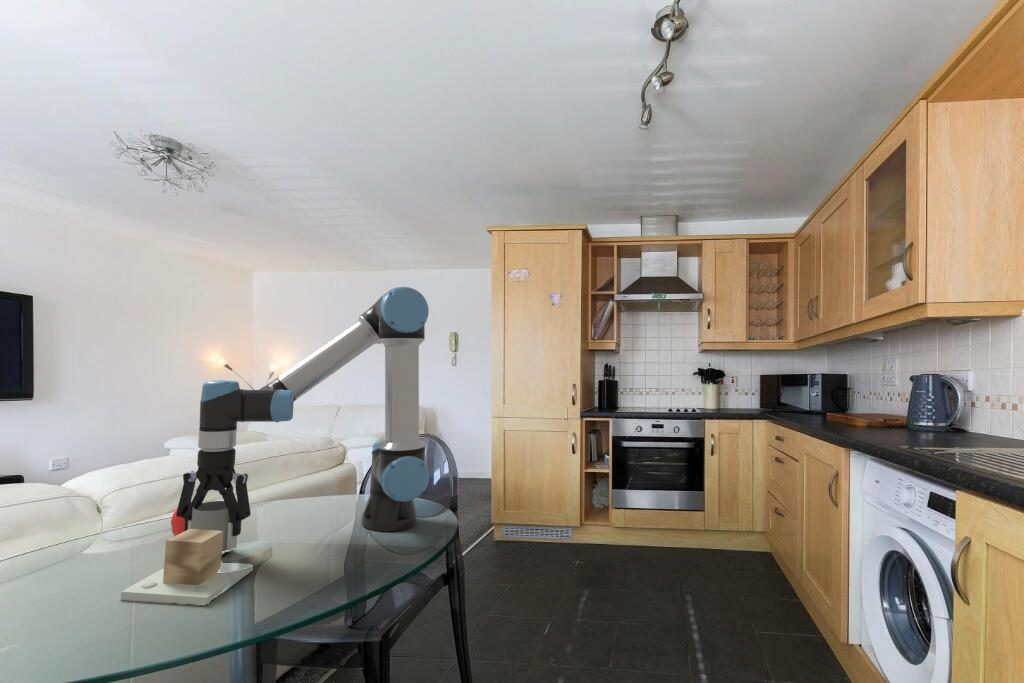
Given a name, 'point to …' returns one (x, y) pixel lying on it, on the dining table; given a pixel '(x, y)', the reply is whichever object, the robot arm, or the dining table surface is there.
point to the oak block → (192, 556)
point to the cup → (212, 518)
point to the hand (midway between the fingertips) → (211, 548)
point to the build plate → (174, 590)
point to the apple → (177, 524)
